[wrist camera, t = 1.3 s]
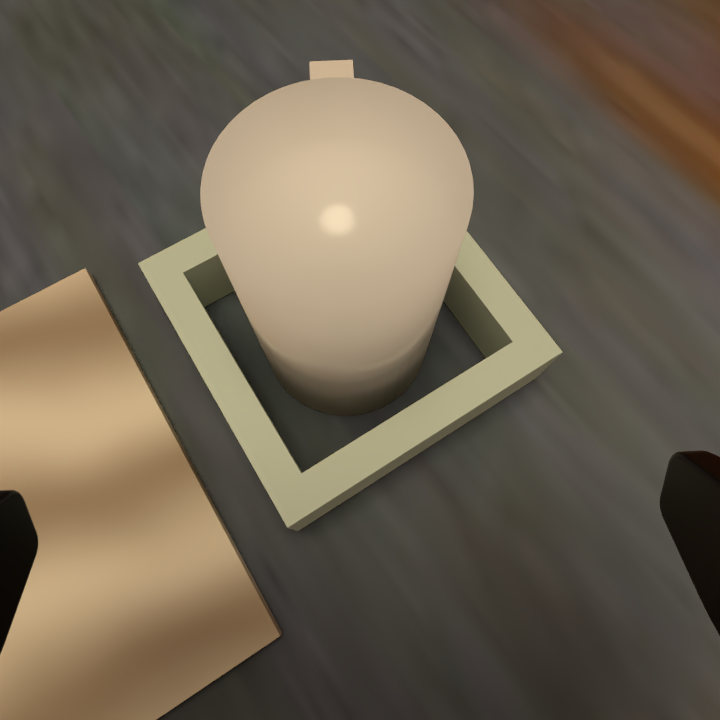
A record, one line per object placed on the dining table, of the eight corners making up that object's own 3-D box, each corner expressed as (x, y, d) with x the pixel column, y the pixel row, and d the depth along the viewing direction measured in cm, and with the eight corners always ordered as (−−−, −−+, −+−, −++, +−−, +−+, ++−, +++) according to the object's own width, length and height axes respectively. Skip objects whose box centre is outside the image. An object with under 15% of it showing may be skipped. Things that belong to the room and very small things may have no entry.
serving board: (282, 633, 19) (280, 635, 19) (-95, 887, 17) (-110, 899, 17) (91, 275, 24) (85, 268, 23) (-229, 440, 21) (-245, 436, 21)
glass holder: (536, 377, 22) (562, 352, 19) (297, 531, 20) (287, 527, 18) (385, 180, 25) (389, 132, 22) (165, 298, 23) (138, 263, 20)
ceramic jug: (433, 411, 22) (490, 302, 12) (266, 420, 22) (195, 316, 12) (415, 229, 24) (450, 24, 15) (266, 236, 24) (206, 34, 15)
